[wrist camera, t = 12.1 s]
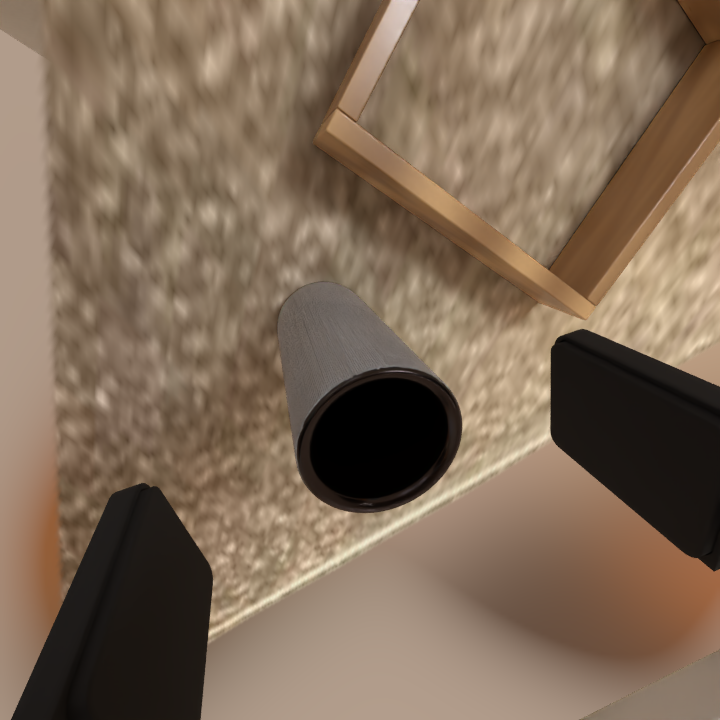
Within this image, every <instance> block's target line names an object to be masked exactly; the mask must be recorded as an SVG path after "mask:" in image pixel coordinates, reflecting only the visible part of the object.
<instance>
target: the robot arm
mask: <svg viewBox="0 0 720 720" xmlns="http://www.w3.org/2000/svg"><path fill="white" fill-rule="evenodd" d="M551 436H552V439H553V441H554V442H555V444H556V445H557V446H558V447H559V448H560V449H562V450H563V451H564V452H565V453H566V454H567V455H569V456H570V457H571V458H572V459H574V460H575V461H576V462H577V463H578V464H579V465H581V466H582V467H583V468H584V469H585V470H586V471H588V472H589V473H590V474H591V475H592V476H594V477H595V478H596V479H597V480H598V481H599V482H601V483H602V484H603V485H604V486H605V487H607V488H608V489H609V490H610V491H612V492H613V493H614V494H615V495H616V496H617V497H618V498H620V499H621V500H622V501H623V502H624V503H625V504H627V505H628V506H629V507H630V508H631V509H633V510H634V511H635V512H636V513H637V514H638V515H640V516H641V517H642V518H643V519H644V520H646V521H647V522H648V523H649V524H650V525H652V526H653V527H654V528H655V529H656V530H658V531H659V532H660V533H661V534H662V535H664V536H665V537H666V538H667V539H668V540H669V541H670V542H672V543H673V544H674V545H675V546H676V547H678V548H679V549H680V550H681V551H683V552H684V553H685V554H687V555H689V556H691V557H694V558H698V559H700V560H701V561H702V562H703V563H704V564H706V565H707V566H708V567H709V568H710V569H712V570H713V571H716V570H718V569H720V387H719V386H717V385H714V384H712V383H710V382H707V381H705V380H703V379H700V378H698V377H696V376H693V375H691V374H689V373H686V372H684V371H682V370H679V369H677V368H675V367H672V366H670V365H668V364H665V363H663V362H661V361H658V360H656V359H654V358H651V357H649V356H647V355H644V354H642V353H640V352H637V351H635V350H633V349H630V348H628V347H626V346H623V345H621V344H619V343H616V342H614V341H612V340H609V339H607V338H605V337H602V336H600V335H598V334H595V333H593V332H591V331H588V330H585V329H580V330H577V331H574V332H571V333H568V334H565V335H563V336H560V337H558V338H557V340H556V342H555V345H554V346H552V348H551ZM212 586H213V575H212V570H211V567H210V565H209V563H208V562H207V560H206V559H205V557H204V556H203V554H202V552H201V551H200V549H199V548H198V546H197V545H196V543H195V542H194V540H193V539H192V537H191V536H190V534H189V533H188V531H187V530H186V528H185V527H184V525H183V524H182V522H181V520H180V519H179V517H178V516H177V514H176V513H175V511H174V510H173V508H172V507H171V505H170V504H169V502H168V501H167V499H166V498H165V496H164V495H163V493H162V492H161V490H160V489H159V488H158V487H156V486H153V487H150V486H149V485H147V484H146V483H141V484H138V485H135V486H132V487H129V488H126V489H124V490H121V491H118V492H115V493H114V494H112V495H111V497H110V498H109V501H108V503H107V505H106V507H105V510H104V512H103V514H102V516H101V519H100V521H99V523H98V525H97V528H96V530H95V532H94V534H93V537H92V539H91V541H90V543H89V546H88V548H87V550H86V552H85V555H84V557H83V559H82V561H81V563H80V566H79V568H78V570H77V572H76V575H75V577H74V579H73V581H72V584H71V586H70V588H69V590H68V593H67V595H66V597H65V599H64V602H63V604H62V606H61V608H60V611H59V613H58V615H57V617H56V620H55V622H54V624H53V627H52V629H51V631H50V633H49V636H48V638H47V640H46V642H45V644H44V647H43V649H42V651H41V653H40V656H39V658H38V660H37V663H36V665H35V667H34V669H33V672H32V674H31V676H30V678H29V680H28V683H27V685H26V687H25V689H24V692H23V694H22V696H21V698H20V701H19V703H18V705H17V708H16V710H15V712H14V714H13V717H12V719H11V720H200V718H201V707H202V697H203V685H204V675H205V664H206V652H207V642H208V630H209V619H210V608H211V597H212ZM580 720H720V650H718V651H716V652H714V653H712V654H710V655H708V656H706V657H704V658H702V659H700V660H698V661H696V662H694V663H692V664H690V665H687V666H686V667H683V668H681V669H679V670H678V671H675V672H673V673H671V674H669V675H667V676H665V677H663V678H661V679H659V680H657V681H656V682H653V683H652V684H649V685H648V686H645V687H643V688H641V689H639V690H638V691H636V692H634V693H632V694H630V695H628V696H626V697H624V698H622V699H620V700H618V701H616V702H614V703H612V704H610V705H608V706H606V707H604V708H602V709H600V710H598V711H596V712H594V713H592V714H590V715H588V716H586V717H584V718H582V719H580Z"/></svg>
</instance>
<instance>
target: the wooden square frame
mask: <svg viewBox="0 0 720 720" xmlns="http://www.w3.org/2000/svg"><path fill="white" fill-rule="evenodd" d="M419 1H420V0H383V1H382V3H381V5H380V7H379V9H378V11H377V13H376V15H375V17H374V19H373V21H372V23H371V25H370V27H369V29H368V31H367V33H366V35H365V37H364V39H363V41H362V43H361V45H360V47H359V49H358V51H357V53H356V55H355V57H354V59H353V61H352V63H351V65H350V67H349V69H348V71H347V73H346V75H345V77H344V79H343V81H342V83H341V85H340V87H339V89H338V91H337V93H336V95H335V97H334V99H333V101H332V103H331V105H330V107H329V110H328V112H327V114H326V116H325V118H324V120H323V122H322V125H321V126H320V128H319V130H318V132H317V134H316V136H315V138H314V140H313V144H314V145H316V146H317V147H319V148H320V149H321V150H323V151H324V152H326V153H327V154H328V155H330V156H331V157H333V158H334V159H336V160H337V161H338V162H340V163H341V164H343V165H344V166H346V167H347V168H348V169H350V170H351V171H353V172H354V173H355V174H357V175H358V176H360V177H361V178H363V179H364V180H365V181H367V182H368V183H370V184H371V185H373V186H374V187H375V188H377V189H378V190H380V191H381V192H382V193H384V194H385V195H387V196H388V197H390V198H391V199H392V200H394V201H395V202H397V203H398V204H400V205H401V206H402V207H404V208H405V209H407V210H408V211H409V212H411V213H412V214H414V215H415V216H417V217H418V218H419V219H421V220H422V221H424V222H425V223H427V224H428V225H429V226H431V227H432V228H434V229H435V230H436V231H438V232H439V233H441V234H442V235H444V236H445V237H446V238H448V239H449V240H451V241H452V242H454V243H455V244H456V245H458V246H459V247H461V248H462V249H463V250H465V251H466V252H468V253H469V254H471V255H472V256H473V257H475V258H476V259H478V260H479V261H481V262H482V263H483V264H485V265H486V266H488V267H489V268H490V269H492V270H493V271H495V272H496V273H498V274H499V275H500V276H502V277H503V278H505V279H506V280H508V281H509V282H510V283H512V284H513V285H515V286H516V287H517V288H519V289H520V290H522V291H523V292H525V293H526V294H527V295H529V296H530V297H532V298H533V299H535V300H536V301H537V302H539V303H541V304H544V305H546V306H549V307H552V308H554V309H557V310H559V311H562V312H565V313H567V314H570V315H573V316H575V317H578V318H580V319H583V320H587V319H588V317H589V316H590V315H591V313H592V312H593V311H594V309H595V306H597V305H598V304H599V302H600V301H601V300H602V298H603V297H604V296H605V294H606V293H607V292H608V290H609V289H610V288H611V286H612V285H613V284H614V282H615V281H616V280H617V278H618V277H619V276H620V274H621V273H622V271H623V270H624V269H625V267H626V266H627V265H628V263H629V262H630V261H631V259H632V258H633V257H634V255H635V254H636V253H637V251H638V250H639V249H640V247H641V246H642V245H643V243H644V242H645V241H646V239H647V238H648V236H649V235H650V234H651V232H652V231H653V230H654V228H655V227H656V226H657V224H658V223H659V222H660V220H661V219H662V218H663V216H664V215H665V214H666V212H667V211H668V210H669V208H670V207H671V206H672V204H673V203H674V202H675V200H676V199H677V197H678V196H679V195H680V193H681V192H682V191H683V189H684V188H685V187H686V185H687V184H688V183H689V181H690V180H691V179H692V177H693V176H694V175H695V173H696V172H697V171H698V169H699V168H700V167H701V165H702V164H703V162H704V161H705V160H706V158H707V157H708V156H709V154H710V153H711V152H712V150H713V149H714V148H715V146H716V145H717V144H718V142H719V141H720V0H677V1H678V2H679V4H680V5H681V7H682V8H683V10H684V11H685V13H686V14H687V16H688V17H689V19H690V20H691V22H692V23H693V25H694V26H695V28H696V29H697V31H698V32H699V34H700V35H701V37H702V38H703V40H704V42H705V43H706V45H705V46H704V47H703V49H702V50H701V52H700V53H699V54H698V56H697V57H696V59H695V60H694V62H693V63H692V65H691V66H690V67H689V69H688V70H687V72H686V73H685V75H684V76H683V78H682V79H681V80H680V82H679V83H678V85H677V86H676V88H675V89H674V91H673V92H672V93H671V95H670V96H669V98H668V99H667V101H666V102H665V104H664V105H663V106H662V108H661V109H660V111H659V112H658V114H657V115H656V116H655V118H654V119H653V121H652V122H651V124H650V125H649V127H648V128H647V129H646V131H645V132H644V134H643V135H642V137H641V138H640V140H639V141H638V142H637V144H636V145H635V147H634V148H633V150H632V151H631V153H630V154H629V155H628V157H627V158H626V160H625V161H624V163H623V164H622V165H621V167H620V168H619V170H618V171H617V173H616V174H615V176H614V177H613V178H612V180H611V181H610V183H609V184H608V186H607V187H606V189H605V190H604V191H603V193H602V194H601V196H600V197H599V199H598V200H597V202H596V203H595V204H594V206H593V207H592V209H591V210H590V212H589V213H588V215H587V216H586V217H585V219H584V220H583V222H582V223H581V225H580V226H579V227H578V229H577V230H576V232H575V233H574V235H573V236H572V238H571V239H570V240H569V242H568V243H567V245H566V246H565V248H564V249H563V251H562V252H561V253H560V255H559V256H558V258H557V259H556V261H555V262H554V264H553V265H552V266H551V268H550V269H549V270H548V269H546V268H545V267H544V266H542V265H541V264H540V263H538V262H537V261H536V260H534V259H533V258H532V257H531V256H529V255H528V254H527V253H525V252H524V251H523V250H521V249H520V248H519V247H518V246H516V245H515V244H514V243H512V242H511V241H510V240H508V239H507V238H506V237H504V236H503V235H502V234H501V233H499V232H498V231H497V230H495V229H494V228H493V227H491V226H490V225H489V224H488V223H486V222H485V221H484V220H482V219H481V218H480V217H478V216H477V215H476V214H474V213H473V212H472V211H471V210H469V209H468V208H467V207H465V206H464V205H463V204H461V203H460V202H459V201H458V200H456V199H455V198H454V197H452V196H451V195H450V194H448V193H447V192H446V191H444V190H443V189H442V188H441V187H439V186H438V185H437V184H435V183H434V182H433V181H431V180H430V179H429V178H427V177H426V176H425V175H424V174H422V173H421V172H420V171H418V170H417V169H416V168H414V167H413V166H412V165H411V164H409V163H408V162H407V161H405V160H404V159H403V158H401V157H400V156H399V155H397V154H396V153H395V152H394V151H392V150H391V149H390V148H388V147H387V146H386V145H384V144H383V143H382V142H381V141H379V140H378V139H377V138H375V137H374V136H373V135H371V134H370V133H369V132H367V131H366V130H365V129H364V128H362V127H361V126H360V125H358V124H357V123H356V122H357V121H358V119H359V117H360V115H361V113H362V111H363V109H364V107H365V105H366V103H367V101H368V99H369V98H370V96H371V94H372V92H373V90H374V88H375V86H376V84H377V82H378V80H379V78H380V76H381V74H382V72H383V70H384V68H385V67H386V65H387V63H388V61H389V59H390V57H391V55H392V53H393V51H394V49H395V47H396V45H397V43H398V41H399V39H400V37H401V36H402V34H403V32H404V30H405V28H406V26H407V24H408V22H409V20H410V18H411V16H412V14H413V12H414V10H415V8H416V6H417V5H418V3H419Z"/></svg>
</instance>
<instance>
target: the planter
mask: <svg viewBox="0 0 720 720" xmlns="http://www.w3.org/2000/svg"><path fill="white" fill-rule="evenodd" d="M277 333H278V341H279V348H280V355H281V362H282V369H283V376H284V383H285V390H286V396H287V403H288V410H289V417H290V424H291V431H292V438H293V445H294V452H295V458H296V463H297V468H298V471H299V474H300V476H301V478H302V480H303V482H304V484H305V485H306V486H307V488H308V489H309V490H310V491H311V492H312V493H313V494H314V495H315V496H316V497H317V498H318V499H320V500H321V501H323V502H324V503H326V504H328V505H330V506H332V507H334V508H337V509H340V510H344V511H348V512H355V513H374V512H381V511H386V510H390V509H393V508H396V507H399V506H402V505H404V504H406V503H408V502H410V501H412V500H414V499H416V498H417V497H419V496H421V495H422V494H423V493H425V492H426V491H427V490H429V489H430V488H431V487H432V486H433V485H434V484H435V483H436V482H437V481H438V480H439V479H440V478H441V477H442V476H443V475H444V473H445V472H446V471H447V469H448V468H449V466H450V465H451V463H452V461H453V459H454V458H455V455H456V453H457V451H458V448H459V444H460V441H461V435H462V417H461V411H460V408H459V405H458V402H457V400H456V398H455V396H454V395H453V393H452V392H451V390H450V389H449V388H448V387H447V385H446V384H445V383H444V382H443V381H442V380H441V379H440V378H439V377H438V376H437V375H436V374H435V373H434V372H433V371H432V370H431V369H430V368H429V367H428V366H427V365H426V364H425V363H424V362H423V361H422V360H421V359H420V358H419V357H418V356H417V355H416V354H415V353H414V352H413V351H412V350H411V349H410V348H409V347H408V346H407V345H406V344H405V343H404V342H403V341H402V340H401V339H400V338H399V337H398V336H397V335H396V334H395V333H394V332H393V331H392V330H391V329H390V328H389V327H388V326H387V325H386V324H385V323H384V322H383V321H382V320H381V319H380V318H379V317H378V316H377V315H376V314H375V313H374V312H373V311H372V310H371V309H370V308H369V307H368V306H367V305H366V304H365V303H364V302H363V301H362V300H361V299H360V298H359V297H358V296H357V295H356V294H355V293H354V292H352V291H351V290H349V289H348V288H346V287H344V286H342V285H340V284H337V283H333V282H316V283H311V284H308V285H306V286H303V287H302V288H300V289H298V290H297V291H295V292H294V293H293V294H292V295H291V296H290V297H289V298H288V299H287V300H286V302H285V303H284V305H283V307H282V309H281V311H280V314H279V318H278V327H277Z"/></svg>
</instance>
